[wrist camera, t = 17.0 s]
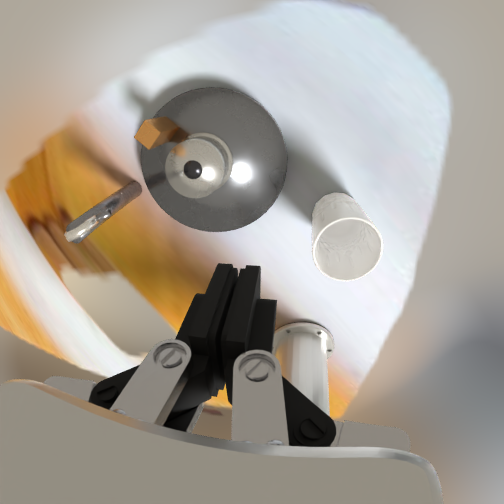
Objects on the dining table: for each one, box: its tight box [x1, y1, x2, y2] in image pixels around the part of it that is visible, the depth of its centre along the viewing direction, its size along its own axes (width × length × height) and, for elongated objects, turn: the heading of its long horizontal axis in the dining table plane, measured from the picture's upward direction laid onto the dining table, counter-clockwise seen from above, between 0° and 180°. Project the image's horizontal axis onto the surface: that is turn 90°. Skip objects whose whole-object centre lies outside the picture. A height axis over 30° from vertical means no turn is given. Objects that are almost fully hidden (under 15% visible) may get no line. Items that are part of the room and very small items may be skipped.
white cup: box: [312, 192, 383, 281], centre depth 33 cm, size 8×8×10 cm
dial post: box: [64, 181, 142, 243], centre depth 32 cm, size 6×2×16 cm, turn 108°
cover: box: [165, 132, 233, 198], centre depth 31 cm, size 8×8×4 cm
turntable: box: [134, 87, 287, 232], centre depth 32 cm, size 19×19×7 cm
